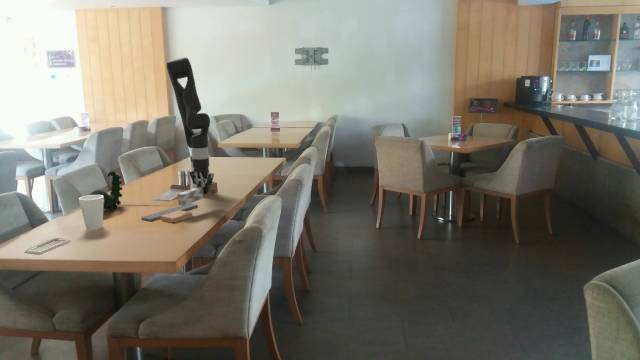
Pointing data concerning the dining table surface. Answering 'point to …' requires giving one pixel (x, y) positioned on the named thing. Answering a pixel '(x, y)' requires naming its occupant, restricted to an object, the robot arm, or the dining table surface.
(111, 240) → the dining table surface
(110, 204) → the toy figurine
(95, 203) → the foam cup
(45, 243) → the grey rectangular frame
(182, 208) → the rest mat
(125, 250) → the dining table surface
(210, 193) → the pale rectangular box
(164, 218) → the tile
